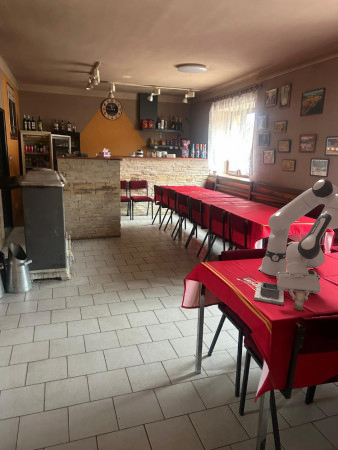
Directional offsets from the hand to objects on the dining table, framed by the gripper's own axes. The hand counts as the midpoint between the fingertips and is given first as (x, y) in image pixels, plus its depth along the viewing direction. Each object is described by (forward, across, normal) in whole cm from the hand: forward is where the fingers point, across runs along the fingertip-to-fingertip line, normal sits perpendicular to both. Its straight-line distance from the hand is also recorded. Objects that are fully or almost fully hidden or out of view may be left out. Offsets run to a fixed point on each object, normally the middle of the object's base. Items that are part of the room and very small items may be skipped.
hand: (300, 299), depth 159 cm
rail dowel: (+3, 0, +4) cm, 5 cm away
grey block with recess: (-7, -11, +14) cm, 19 cm away
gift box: (-48, +21, +55) cm, 76 cm away
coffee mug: (-13, +11, +20) cm, 27 cm away
